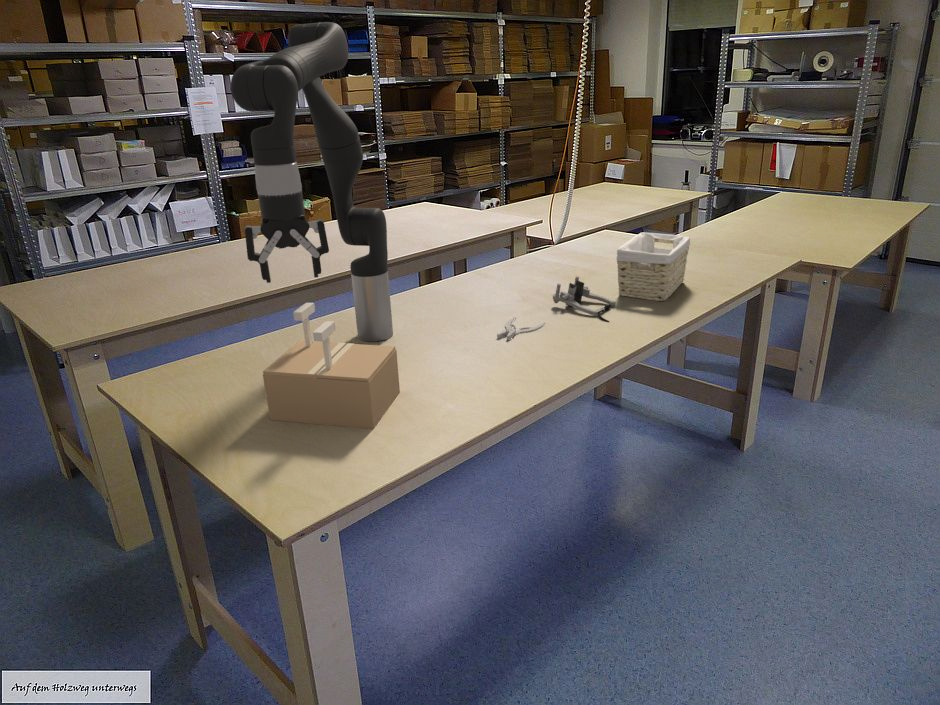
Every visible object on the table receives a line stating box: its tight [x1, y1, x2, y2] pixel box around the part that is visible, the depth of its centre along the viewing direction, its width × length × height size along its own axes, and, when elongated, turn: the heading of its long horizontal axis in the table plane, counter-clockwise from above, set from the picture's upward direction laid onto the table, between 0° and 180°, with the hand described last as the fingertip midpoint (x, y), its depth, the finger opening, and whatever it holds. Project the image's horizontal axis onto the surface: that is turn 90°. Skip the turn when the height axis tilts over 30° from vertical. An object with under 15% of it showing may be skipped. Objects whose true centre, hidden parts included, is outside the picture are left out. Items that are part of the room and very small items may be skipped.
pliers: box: [496, 316, 546, 341], centre depth 174 cm, size 10×2×15 cm
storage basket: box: [616, 231, 691, 302], centre depth 199 cm, size 24×16×15 cm
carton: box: [262, 302, 401, 430], centre depth 134 cm, size 16×22×19 cm
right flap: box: [312, 320, 396, 381], centre depth 131 cm, size 16×11×9 cm
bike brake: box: [552, 275, 617, 323], centre depth 187 cm, size 14×7×20 cm
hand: (292, 279), depth 122 cm, fingers open, 8 cm apart
